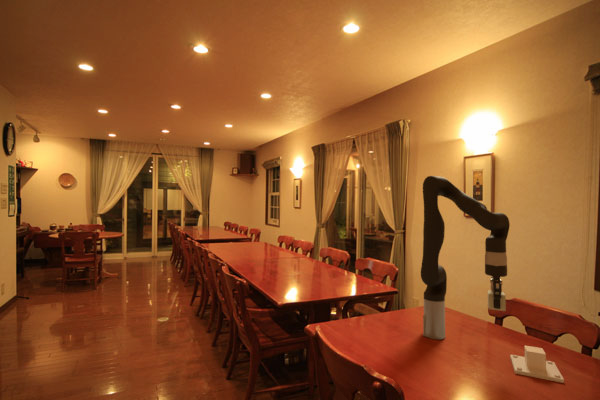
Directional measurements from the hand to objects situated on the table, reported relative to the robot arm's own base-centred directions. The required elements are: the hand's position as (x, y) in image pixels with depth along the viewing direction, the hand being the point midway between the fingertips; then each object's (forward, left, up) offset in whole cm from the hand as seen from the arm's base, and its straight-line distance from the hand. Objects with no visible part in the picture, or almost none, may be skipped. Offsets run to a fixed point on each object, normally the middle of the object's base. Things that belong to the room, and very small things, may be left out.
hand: (496, 306), depth 126 cm
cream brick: (+12, -1, -20) cm, 24 cm away
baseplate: (+12, -1, -21) cm, 25 cm away
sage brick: (0, 0, -1) cm, 1 cm away
